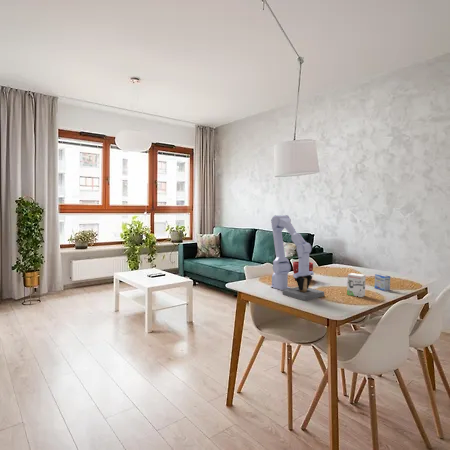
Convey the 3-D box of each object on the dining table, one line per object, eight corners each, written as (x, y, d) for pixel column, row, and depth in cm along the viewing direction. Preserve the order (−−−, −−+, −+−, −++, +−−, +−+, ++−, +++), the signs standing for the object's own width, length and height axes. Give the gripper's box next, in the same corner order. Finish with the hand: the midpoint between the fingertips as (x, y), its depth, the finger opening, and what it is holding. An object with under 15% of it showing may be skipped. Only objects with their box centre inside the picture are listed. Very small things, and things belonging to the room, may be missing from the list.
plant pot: (314, 282, 225) (315, 264, 224) (294, 282, 225) (294, 263, 225) (310, 278, 238) (310, 260, 238) (291, 277, 238) (291, 260, 238)
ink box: (346, 294, 194) (347, 273, 193) (350, 293, 197) (350, 272, 197) (362, 297, 188) (362, 276, 187) (365, 295, 192) (365, 274, 191)
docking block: (282, 294, 194) (282, 290, 194) (302, 290, 204) (302, 286, 203) (304, 300, 181) (304, 296, 181) (324, 296, 191) (324, 291, 190)
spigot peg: (298, 292, 193) (298, 278, 193) (303, 291, 195) (303, 277, 195) (303, 294, 190) (303, 279, 189) (308, 293, 192) (308, 278, 191)
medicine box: (374, 288, 209) (374, 274, 209) (379, 287, 211) (380, 273, 210) (384, 291, 202) (384, 276, 202) (390, 290, 204) (390, 275, 203)
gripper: (300, 267, 184) (300, 292, 185) (318, 264, 192) (317, 288, 193) (290, 265, 190) (290, 289, 190) (308, 262, 198) (307, 286, 199)
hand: (303, 289), depth 192 cm, fingers closed on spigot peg, 4 cm apart
